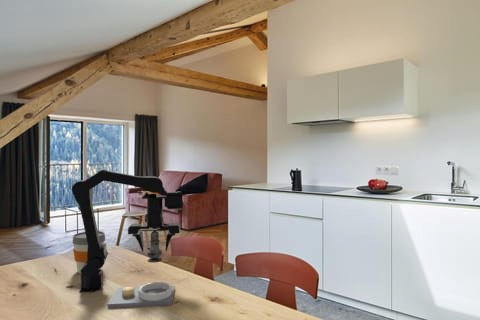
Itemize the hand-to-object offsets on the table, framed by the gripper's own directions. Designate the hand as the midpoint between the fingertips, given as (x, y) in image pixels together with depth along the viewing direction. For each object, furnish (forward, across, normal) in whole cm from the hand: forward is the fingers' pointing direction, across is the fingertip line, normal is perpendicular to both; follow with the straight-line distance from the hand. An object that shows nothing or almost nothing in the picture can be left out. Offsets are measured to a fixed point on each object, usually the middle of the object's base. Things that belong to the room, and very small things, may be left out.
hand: (154, 251), depth 128 cm
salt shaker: (+4, 0, 0) cm, 4 cm away
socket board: (+12, +2, +13) cm, 18 cm away
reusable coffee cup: (+12, +29, -17) cm, 36 cm away
